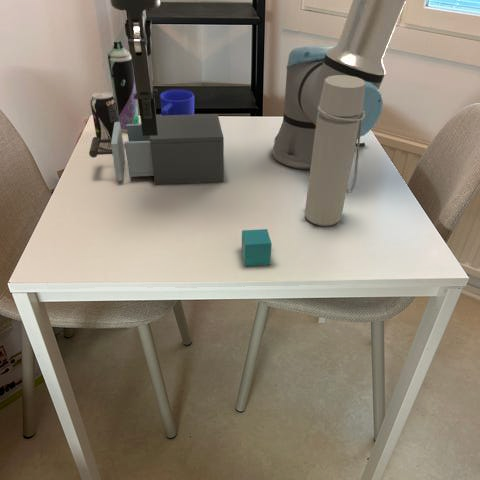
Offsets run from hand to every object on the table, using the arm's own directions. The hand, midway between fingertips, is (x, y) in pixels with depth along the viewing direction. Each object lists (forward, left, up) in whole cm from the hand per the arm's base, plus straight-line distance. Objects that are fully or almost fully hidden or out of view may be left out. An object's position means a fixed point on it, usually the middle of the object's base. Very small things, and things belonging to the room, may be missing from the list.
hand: (150, 133), depth 87 cm
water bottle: (-33, +9, -14) cm, 37 cm away
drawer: (+4, -14, -13) cm, 19 cm away
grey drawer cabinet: (-7, -14, -14) cm, 21 cm away
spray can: (+7, -39, -14) cm, 42 cm away
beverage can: (+11, -28, -14) cm, 33 cm away
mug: (-5, -31, -14) cm, 34 cm away
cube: (-17, +21, -14) cm, 30 cm away
